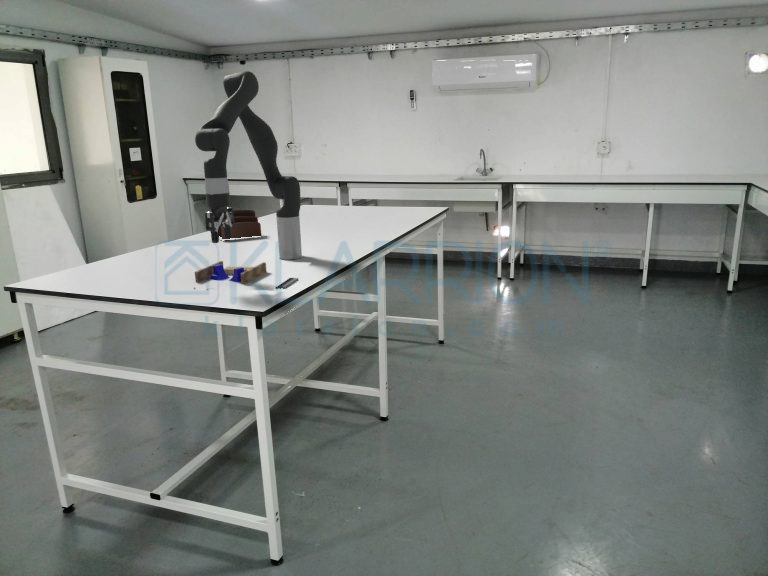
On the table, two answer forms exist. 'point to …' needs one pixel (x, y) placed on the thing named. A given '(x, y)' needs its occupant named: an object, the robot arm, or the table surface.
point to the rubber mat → (287, 283)
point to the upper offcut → (230, 269)
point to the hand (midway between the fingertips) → (222, 240)
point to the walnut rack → (245, 276)
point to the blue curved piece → (221, 275)
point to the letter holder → (242, 225)
